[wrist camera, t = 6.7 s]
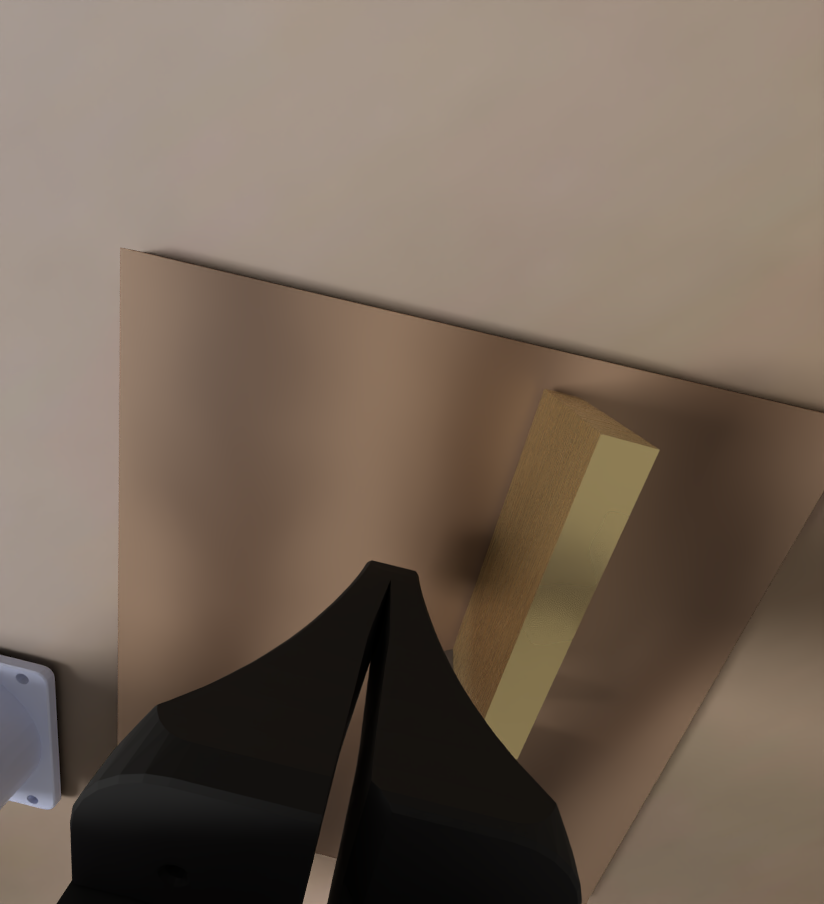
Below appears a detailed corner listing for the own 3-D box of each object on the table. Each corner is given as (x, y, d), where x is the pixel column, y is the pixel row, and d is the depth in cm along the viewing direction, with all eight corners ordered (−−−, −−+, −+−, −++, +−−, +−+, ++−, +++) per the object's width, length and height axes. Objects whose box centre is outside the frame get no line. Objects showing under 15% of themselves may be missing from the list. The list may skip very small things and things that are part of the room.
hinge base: (130, 784, 19) (8, 964, 14) (140, 251, 12) (-97, 204, 7) (572, 893, 19) (619, 1119, 14) (837, 415, 12) (1142, 497, 7)
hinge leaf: (421, 694, 15) (409, 847, 11) (525, 383, 11) (571, 426, 7) (477, 709, 15) (489, 869, 11) (599, 403, 11) (689, 457, 7)
